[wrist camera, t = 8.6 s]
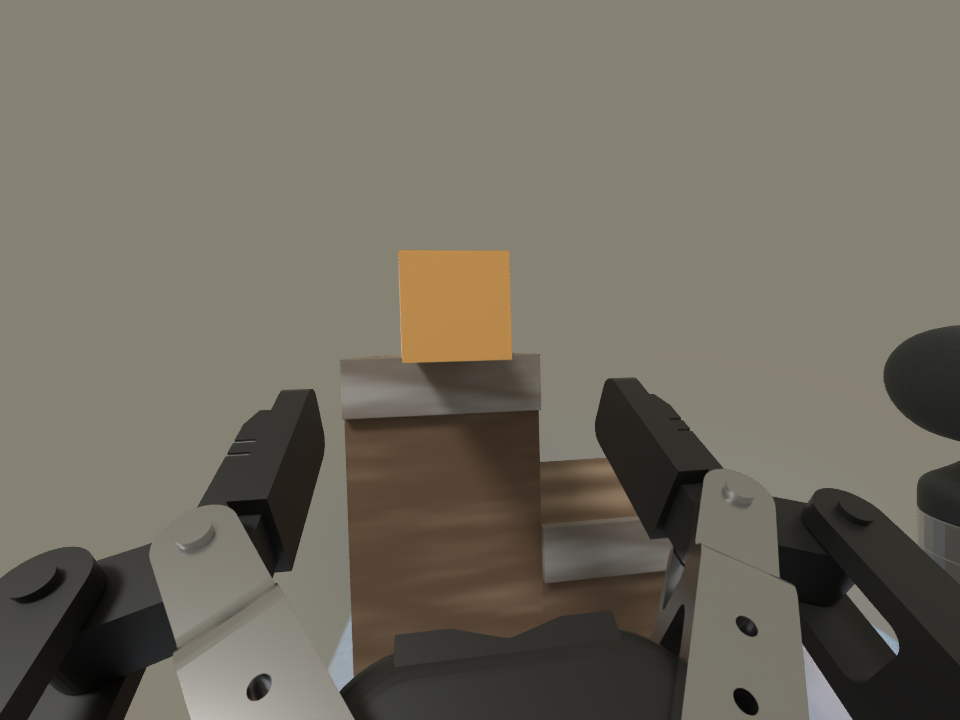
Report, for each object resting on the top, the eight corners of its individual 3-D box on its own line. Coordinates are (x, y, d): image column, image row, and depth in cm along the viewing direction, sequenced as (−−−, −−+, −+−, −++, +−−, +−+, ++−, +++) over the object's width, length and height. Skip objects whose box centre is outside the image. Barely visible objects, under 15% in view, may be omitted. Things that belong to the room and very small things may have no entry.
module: (409, 355, 38) (407, 290, 38) (463, 354, 38) (461, 290, 38) (379, 363, 13) (373, 173, 13) (532, 359, 14) (528, 178, 14)
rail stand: (383, 690, 39) (372, 356, 38) (656, 653, 43) (651, 348, 42) (359, 889, 25) (340, 359, 24) (774, 808, 28) (770, 347, 28)
